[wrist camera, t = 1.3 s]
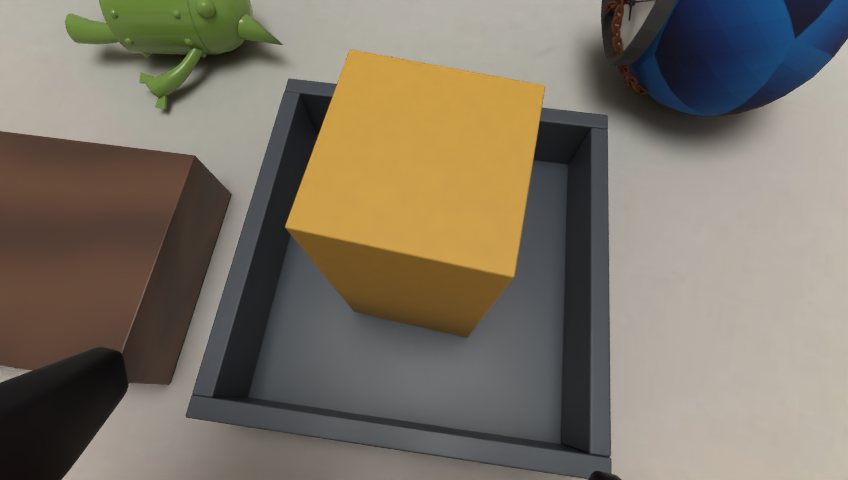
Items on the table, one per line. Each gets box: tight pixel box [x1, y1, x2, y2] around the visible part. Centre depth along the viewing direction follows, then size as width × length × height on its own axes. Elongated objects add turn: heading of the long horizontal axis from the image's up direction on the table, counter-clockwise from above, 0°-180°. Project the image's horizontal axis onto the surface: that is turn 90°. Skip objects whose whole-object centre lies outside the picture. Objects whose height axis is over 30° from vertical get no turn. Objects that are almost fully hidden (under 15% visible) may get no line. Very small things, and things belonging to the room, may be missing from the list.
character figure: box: [65, 0, 283, 110], centre depth 25 cm, size 12×5×12 cm
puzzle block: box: [285, 50, 545, 338], centre depth 16 cm, size 6×6×11 cm
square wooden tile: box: [0, 131, 231, 385], centre depth 20 cm, size 10×10×4 cm
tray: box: [186, 79, 611, 479], centre depth 20 cm, size 16×16×4 cm
